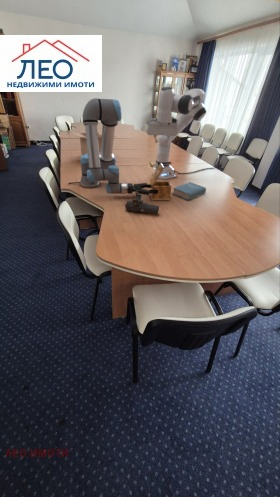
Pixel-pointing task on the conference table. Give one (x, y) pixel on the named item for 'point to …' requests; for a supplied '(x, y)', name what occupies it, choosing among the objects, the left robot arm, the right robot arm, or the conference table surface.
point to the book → (189, 190)
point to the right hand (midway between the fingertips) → (161, 142)
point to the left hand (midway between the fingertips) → (156, 188)
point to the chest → (161, 190)
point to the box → (84, 143)
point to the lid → (156, 172)
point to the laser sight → (141, 206)
